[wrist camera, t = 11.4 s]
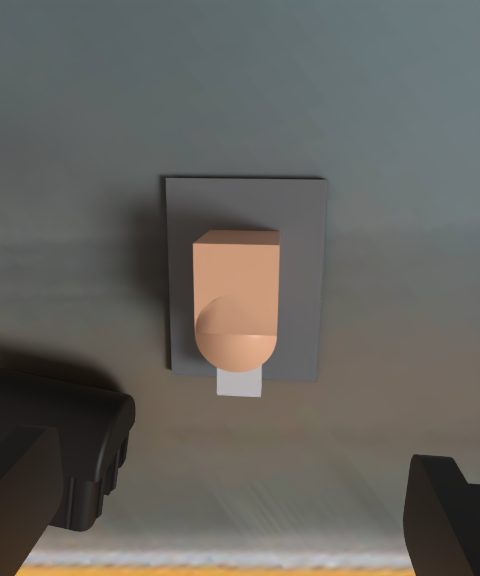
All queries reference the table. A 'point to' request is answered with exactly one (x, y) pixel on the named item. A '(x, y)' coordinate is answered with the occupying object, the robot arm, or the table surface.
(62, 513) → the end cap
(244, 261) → the plug
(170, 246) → the mat
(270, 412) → the table surface
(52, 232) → the table surface
